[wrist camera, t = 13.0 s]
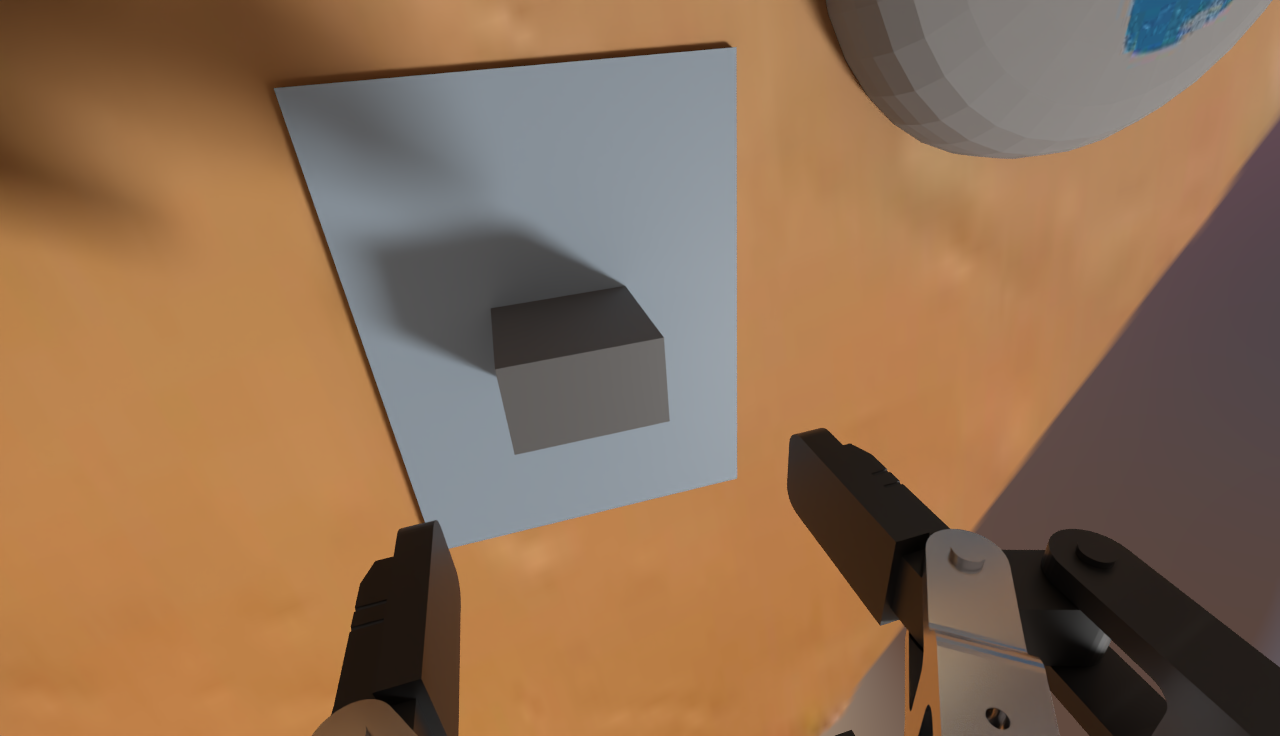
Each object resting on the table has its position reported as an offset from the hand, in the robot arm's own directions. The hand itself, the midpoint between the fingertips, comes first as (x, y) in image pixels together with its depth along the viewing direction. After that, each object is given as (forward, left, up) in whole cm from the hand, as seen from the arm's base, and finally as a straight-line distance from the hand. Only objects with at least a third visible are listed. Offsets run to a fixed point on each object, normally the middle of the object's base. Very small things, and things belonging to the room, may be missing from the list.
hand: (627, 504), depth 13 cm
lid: (0, 0, -11) cm, 11 cm away
